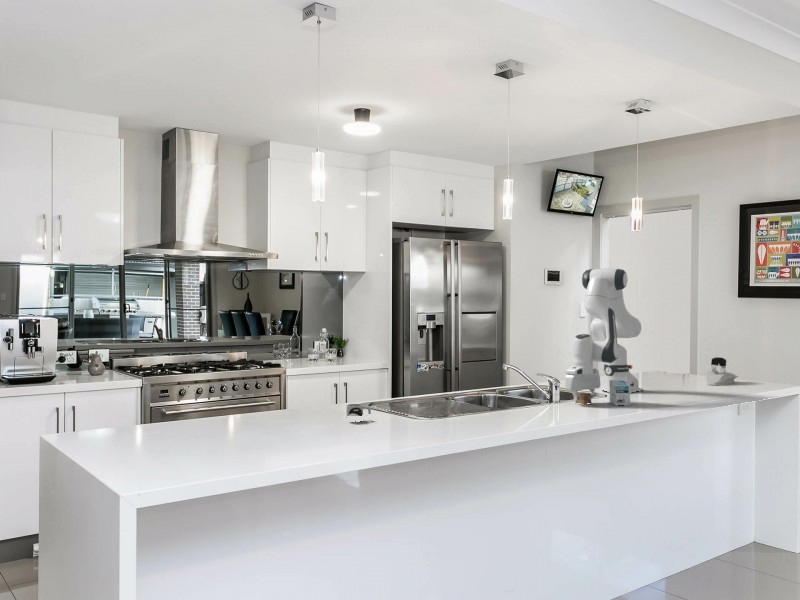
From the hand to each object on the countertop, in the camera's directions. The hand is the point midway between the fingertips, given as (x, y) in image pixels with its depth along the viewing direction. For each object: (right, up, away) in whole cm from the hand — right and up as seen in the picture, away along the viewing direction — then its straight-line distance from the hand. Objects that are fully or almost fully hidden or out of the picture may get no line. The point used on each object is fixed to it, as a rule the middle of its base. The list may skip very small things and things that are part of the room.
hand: (583, 399), depth 321 cm
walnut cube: (0, -2, 0) cm, 2 cm away
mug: (-102, -3, -41) cm, 110 cm away
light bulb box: (+16, -2, -2) cm, 16 cm away
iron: (+97, -2, +71) cm, 120 cm away
